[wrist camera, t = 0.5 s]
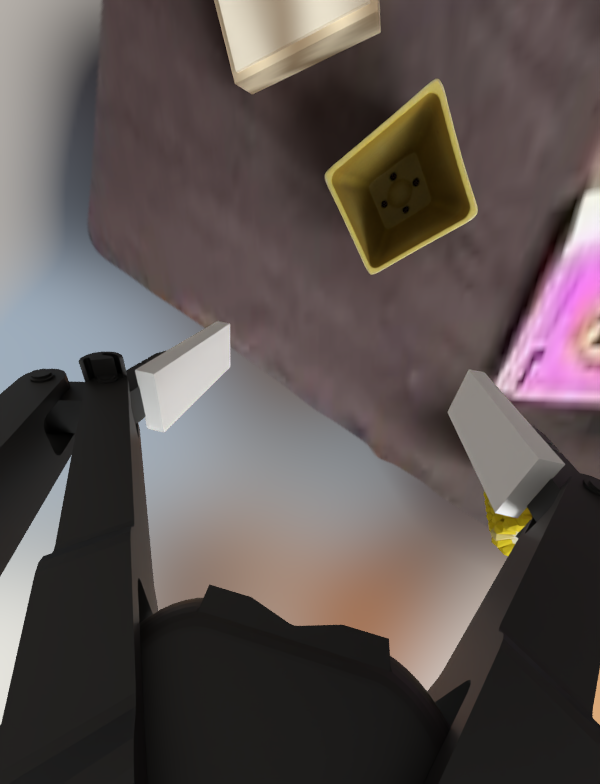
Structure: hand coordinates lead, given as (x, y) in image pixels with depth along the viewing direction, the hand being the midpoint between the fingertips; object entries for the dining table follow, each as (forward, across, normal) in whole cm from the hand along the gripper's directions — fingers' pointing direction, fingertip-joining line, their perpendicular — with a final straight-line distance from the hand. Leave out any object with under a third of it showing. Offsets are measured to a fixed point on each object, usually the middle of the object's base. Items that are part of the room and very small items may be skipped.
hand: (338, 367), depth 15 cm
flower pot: (+22, +2, +11) cm, 24 cm away
